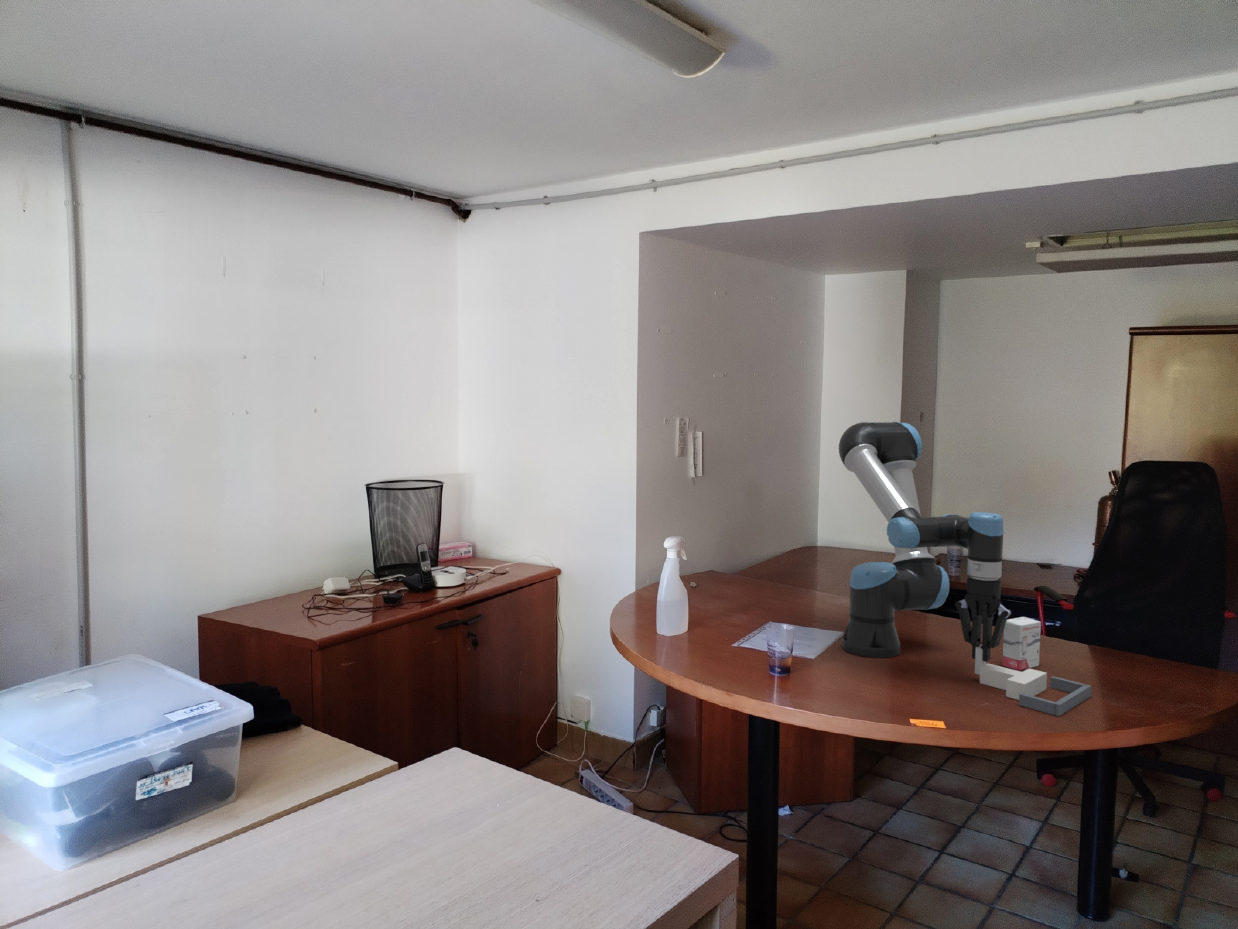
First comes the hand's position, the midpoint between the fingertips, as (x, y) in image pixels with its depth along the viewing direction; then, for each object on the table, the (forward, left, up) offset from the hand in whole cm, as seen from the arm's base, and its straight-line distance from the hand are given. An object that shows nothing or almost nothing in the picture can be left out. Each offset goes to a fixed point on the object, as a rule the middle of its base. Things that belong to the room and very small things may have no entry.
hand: (980, 673), depth 191 cm
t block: (+7, 0, -2) cm, 7 cm away
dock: (+17, 0, -2) cm, 18 cm away
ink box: (+1, +19, -2) cm, 19 cm away
